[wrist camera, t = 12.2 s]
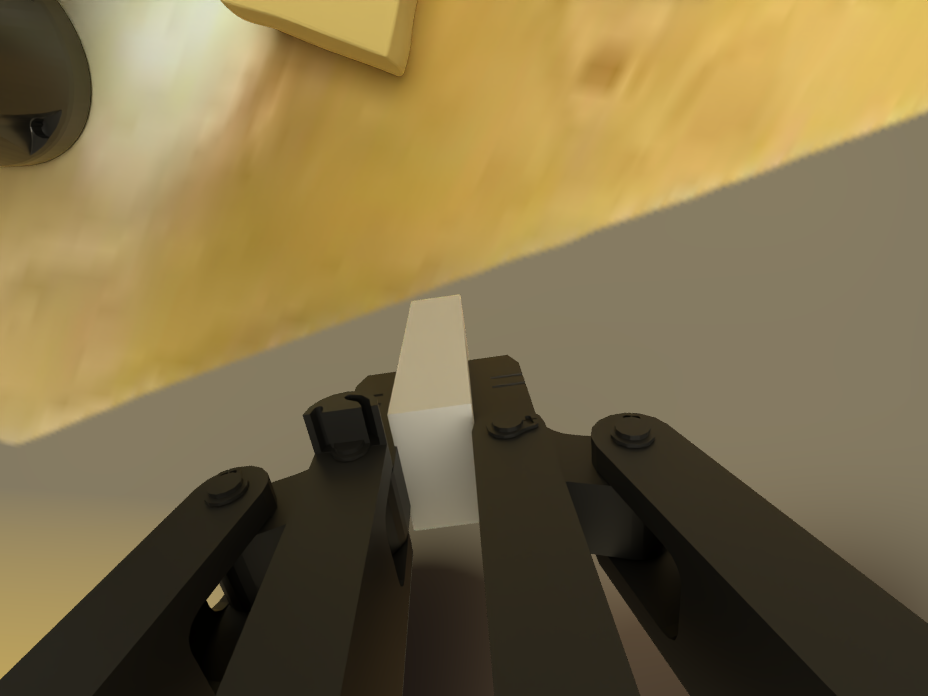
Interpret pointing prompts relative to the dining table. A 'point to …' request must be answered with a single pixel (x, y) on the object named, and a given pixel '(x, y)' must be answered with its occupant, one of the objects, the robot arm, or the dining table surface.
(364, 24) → the cheese
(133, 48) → the dining table surface
